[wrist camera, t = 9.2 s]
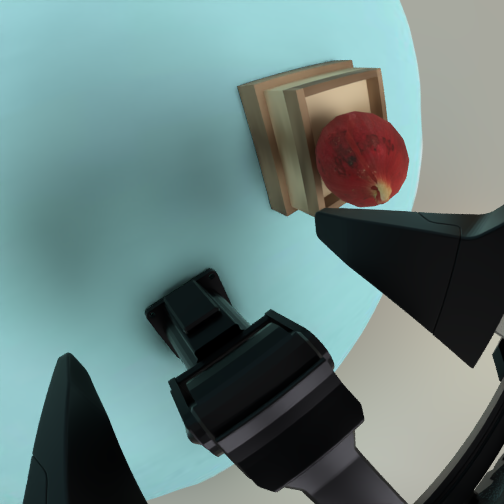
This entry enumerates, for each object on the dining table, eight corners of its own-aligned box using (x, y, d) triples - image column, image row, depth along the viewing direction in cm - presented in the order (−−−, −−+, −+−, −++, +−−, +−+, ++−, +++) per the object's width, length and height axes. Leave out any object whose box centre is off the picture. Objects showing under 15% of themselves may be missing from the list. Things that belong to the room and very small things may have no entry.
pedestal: (351, 162, 28) (394, 175, 25) (271, 208, 25) (315, 230, 21) (334, 60, 22) (383, 60, 18) (237, 86, 19) (285, 83, 15)
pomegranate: (292, 138, 20) (302, 195, 14) (348, 83, 17) (390, 114, 11) (346, 186, 23) (373, 255, 17) (400, 139, 19) (450, 194, 13)
